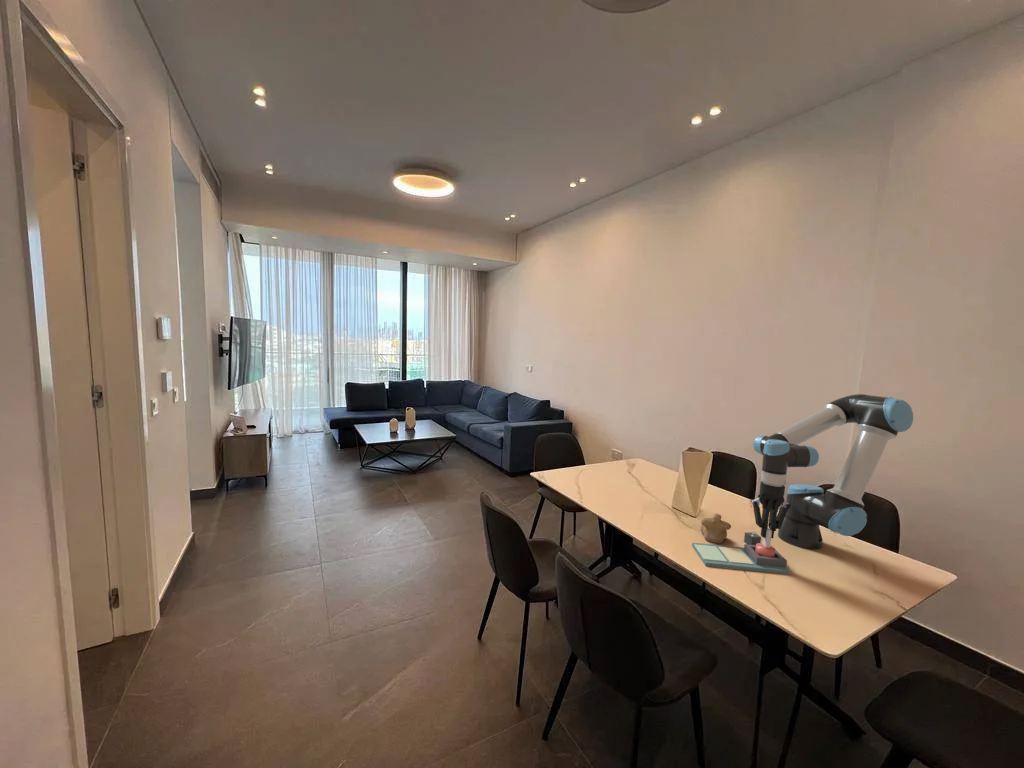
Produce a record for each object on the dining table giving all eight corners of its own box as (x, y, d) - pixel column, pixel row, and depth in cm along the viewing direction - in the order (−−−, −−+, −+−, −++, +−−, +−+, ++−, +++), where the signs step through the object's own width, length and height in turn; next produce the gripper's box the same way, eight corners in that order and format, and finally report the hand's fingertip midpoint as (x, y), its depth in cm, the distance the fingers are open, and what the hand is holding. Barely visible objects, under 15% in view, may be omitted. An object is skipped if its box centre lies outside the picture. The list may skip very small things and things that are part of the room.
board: (768, 552, 157) (769, 543, 157) (789, 574, 142) (791, 564, 142) (691, 545, 160) (692, 536, 160) (705, 565, 145) (706, 555, 145)
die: (752, 541, 166) (753, 531, 166) (760, 546, 162) (761, 536, 162) (743, 542, 165) (744, 532, 165) (751, 546, 161) (752, 536, 161)
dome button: (768, 554, 153) (770, 544, 152) (777, 562, 147) (778, 552, 146) (751, 552, 153) (753, 542, 153) (759, 560, 147) (760, 550, 147)
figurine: (726, 536, 170) (732, 507, 164) (727, 552, 162) (733, 522, 156) (698, 529, 174) (703, 500, 168) (697, 544, 167) (702, 515, 161)
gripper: (786, 481, 150) (779, 542, 152) (748, 478, 152) (742, 539, 154) (798, 488, 143) (790, 552, 145) (758, 485, 144) (751, 549, 147)
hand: (766, 545), depth 149 cm, fingers closed
